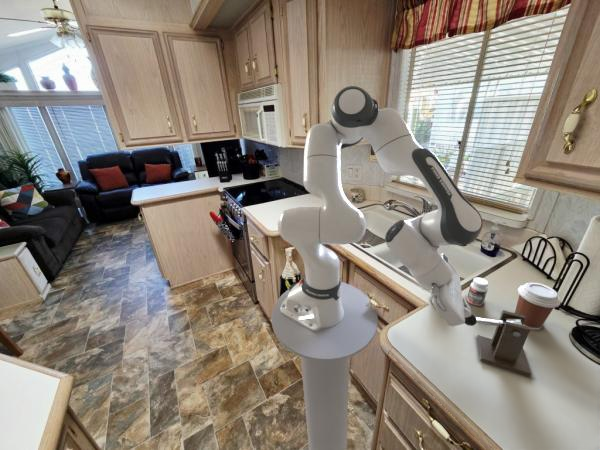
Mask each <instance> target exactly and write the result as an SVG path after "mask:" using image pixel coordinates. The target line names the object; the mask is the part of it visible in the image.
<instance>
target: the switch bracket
mask: <svg viewBox="0 0 600 450" xmlns="http://www.w3.org/2000/svg"><path fill="white" fill-rule="evenodd" d="M506 318H514V319H520V320H521V323H522V325H523V323H524V321H525V319H526V318H525V316H524V315H520V314H516V313H515V312H512V311H508V310H507V311H506V310H501V313H500V317H499V319H498V320H500V321H506ZM522 325H518V324H514V323H510V322H506V323H505V325H504V327H501V326H495V327H496V328H495V330H494V333H493V336H492V338H489V337H486V336H484V335H483V336H482V335H480V334H477V336H476V340H477V347H478V354H479V360H480V362H482V363H485V364H487V365H488V364H489V365H491V366H495V367H498V368H501V369H504V370H507V371H510V372H513V373H516V374H520V375H522V376H526V377H531V376H532V375H533V374H532V370H531V368H530V365H529V361H528V359H527V356H526V352H525V349H524V346H525V344H526V341H527V339H528V336H529V334H530V332H531V329H530V328H529V327H526V326H522Z"/></svg>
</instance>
